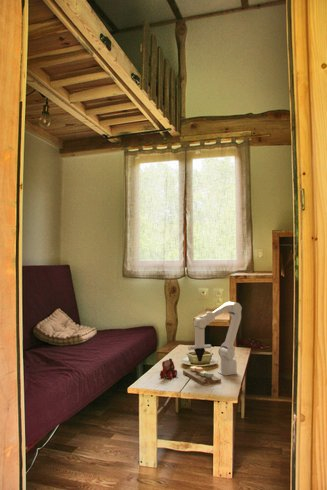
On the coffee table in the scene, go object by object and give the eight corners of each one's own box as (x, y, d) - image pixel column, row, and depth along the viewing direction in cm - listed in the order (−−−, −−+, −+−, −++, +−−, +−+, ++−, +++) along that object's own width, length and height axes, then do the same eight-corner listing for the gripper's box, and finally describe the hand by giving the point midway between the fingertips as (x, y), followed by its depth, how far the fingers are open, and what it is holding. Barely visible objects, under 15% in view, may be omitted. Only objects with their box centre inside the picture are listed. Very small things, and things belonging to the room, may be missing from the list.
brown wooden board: (200, 371, 250) (200, 368, 250) (221, 382, 227) (221, 379, 227) (183, 373, 245) (183, 370, 245) (202, 385, 222) (202, 381, 222)
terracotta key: (200, 372, 241) (200, 366, 242) (203, 374, 238) (203, 368, 238) (194, 373, 240) (194, 367, 240) (197, 375, 237) (197, 369, 237)
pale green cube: (205, 377, 236) (205, 371, 236) (208, 379, 232) (208, 372, 233) (199, 377, 234) (199, 371, 235) (202, 379, 231) (202, 373, 231)
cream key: (195, 372, 247) (195, 366, 247) (198, 373, 243) (198, 367, 244) (190, 372, 245) (190, 366, 246) (193, 374, 242) (193, 368, 242)
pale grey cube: (210, 378, 230) (210, 372, 231) (213, 380, 227) (213, 373, 227) (204, 379, 229) (204, 372, 229) (207, 380, 225) (207, 374, 226)
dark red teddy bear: (178, 375, 242) (179, 358, 242) (168, 380, 231) (168, 362, 232) (169, 373, 245) (169, 356, 246) (158, 378, 235) (158, 360, 235)
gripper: (207, 336, 245) (207, 358, 245) (185, 337, 240) (185, 360, 239) (212, 338, 239) (212, 361, 238) (191, 340, 233) (191, 363, 233)
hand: (199, 361), depth 238 cm, fingers closed
